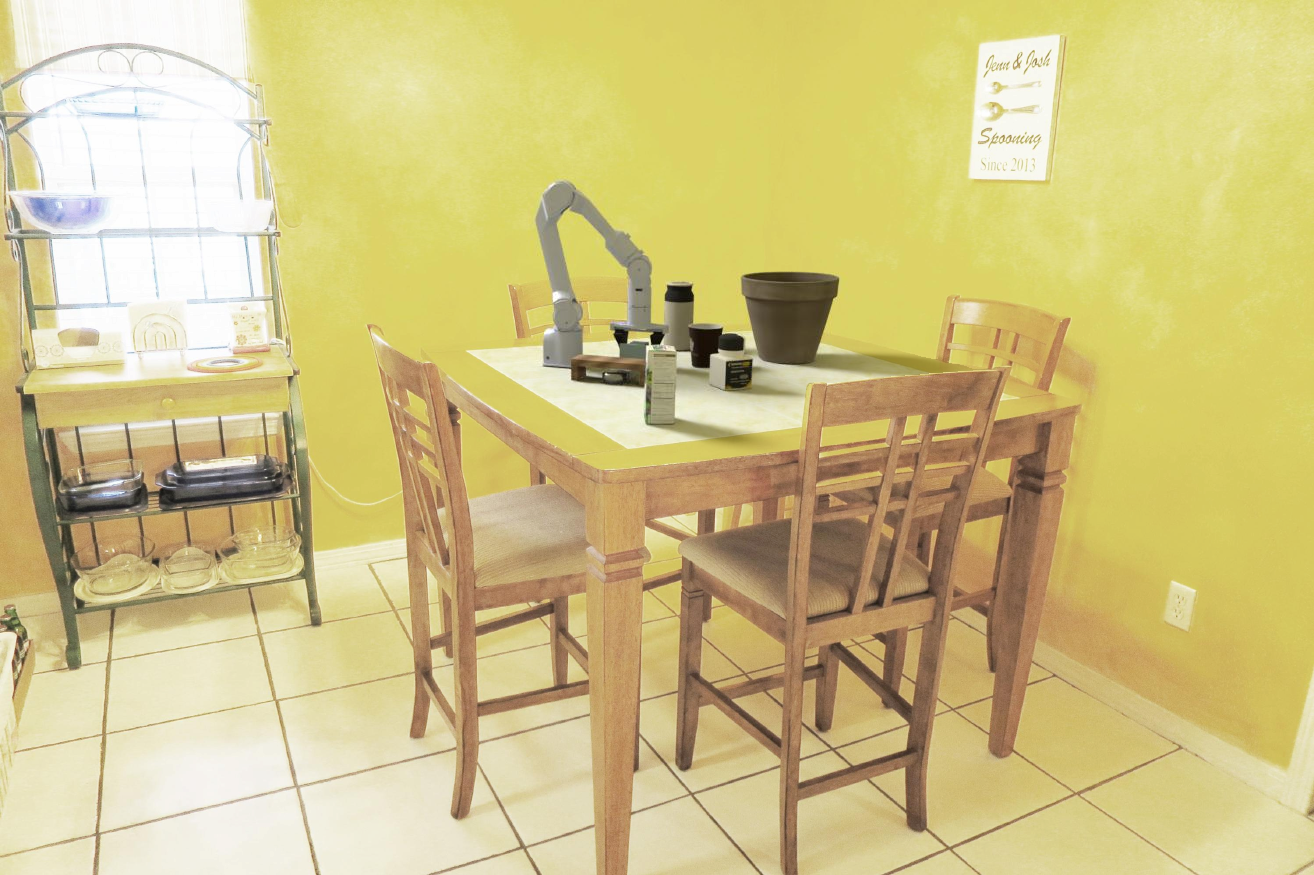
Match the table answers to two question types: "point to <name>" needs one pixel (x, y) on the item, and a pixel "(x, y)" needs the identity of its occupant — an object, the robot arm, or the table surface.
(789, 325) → the plant pot
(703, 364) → the coffee mug
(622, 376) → the token
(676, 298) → the travel mug
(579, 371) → the riser shelf
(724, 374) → the medicine bottle
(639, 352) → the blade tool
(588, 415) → the table surface
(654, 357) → the syrup box
